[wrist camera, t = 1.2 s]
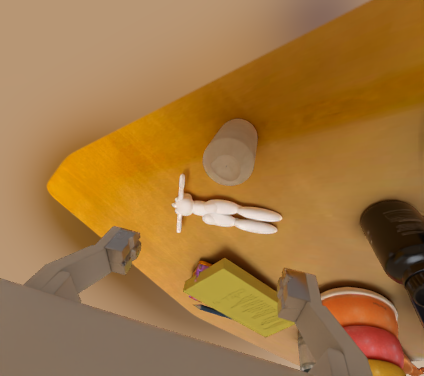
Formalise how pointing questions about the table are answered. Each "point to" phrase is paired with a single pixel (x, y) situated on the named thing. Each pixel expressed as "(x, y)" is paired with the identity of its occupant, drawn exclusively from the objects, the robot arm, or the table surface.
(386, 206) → the supplement bottle
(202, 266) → the toy car
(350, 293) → the stacking toy
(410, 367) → the figurine
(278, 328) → the flat olive board
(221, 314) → the pencil
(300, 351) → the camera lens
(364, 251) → the table surface
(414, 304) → the decorative box
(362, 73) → the table surface
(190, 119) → the table surface
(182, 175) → the decorative figure
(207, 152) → the candle
